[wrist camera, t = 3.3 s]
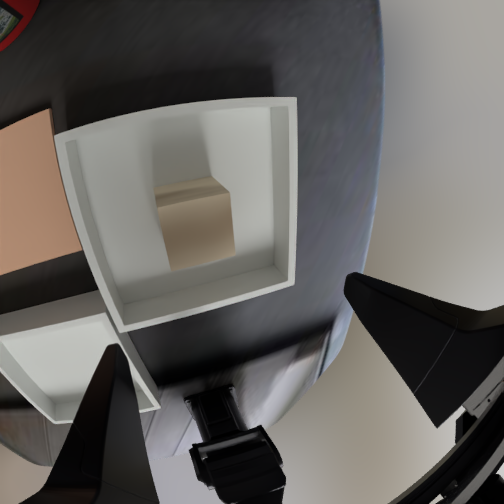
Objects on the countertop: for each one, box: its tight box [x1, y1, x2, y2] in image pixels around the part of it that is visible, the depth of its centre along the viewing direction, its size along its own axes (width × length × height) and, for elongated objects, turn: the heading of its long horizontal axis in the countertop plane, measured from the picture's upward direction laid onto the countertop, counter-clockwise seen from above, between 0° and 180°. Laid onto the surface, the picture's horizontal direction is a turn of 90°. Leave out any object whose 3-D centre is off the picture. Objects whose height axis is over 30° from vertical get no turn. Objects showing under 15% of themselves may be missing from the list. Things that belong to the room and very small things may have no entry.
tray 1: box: [0, 290, 161, 424], centre depth 20 cm, size 14×14×3 cm
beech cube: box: [153, 176, 236, 271], centre depth 17 cm, size 4×4×4 cm
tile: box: [0, 109, 83, 275], centre depth 13 cm, size 10×10×1 cm
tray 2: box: [54, 97, 298, 333], centre depth 18 cm, size 14×14×3 cm
